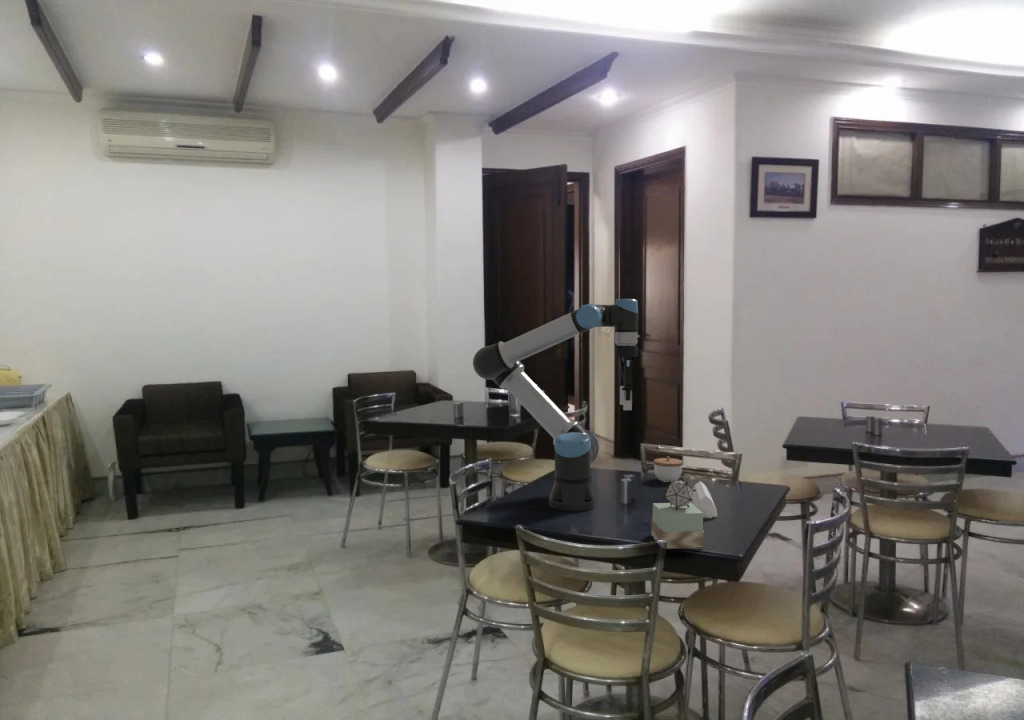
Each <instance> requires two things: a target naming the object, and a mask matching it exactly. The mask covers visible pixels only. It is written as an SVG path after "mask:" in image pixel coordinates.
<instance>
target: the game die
mask: <svg viewBox="0 0 1024 720" xmlns="http://www.w3.org/2000/svg"><path fill="white" fill-rule="evenodd" d="M679 479H680V480H676V481H675V482H671V481H670V480H669V482H670V483H668V486H665V489H666V492H665V495H663V496H662V497H661V498H662V499H666V500H667V501H669V503H671V505H672V504H673V505H674V506H675V507H676V511H677V510H678V507H682V506H686V505H687V506H688V507H689V505H688V504H689V503H690V501H692V499H691V497H692V494H693V491H694V492H695V491H696V490H692V489H693V488H691V487H690V485H688V484H689V482H688V481H686V482H684V481H683V477H679Z"/></svg>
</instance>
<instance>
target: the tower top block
mask: <svg viewBox="0 0 1024 720" xmlns="http://www.w3.org/2000/svg"><path fill="white" fill-rule="evenodd" d="M688 505H689V507H688V506H687V505H686V506H682V507H678V510H677V511H676V507H675V506H674V505H673V504H672V505H671V502H657V503H656V502H653V503H652V519H653V521H654V522H655V523H656V525H657V526H658V527H659V528H660V529H661V530H662V531H663V532H679V531H704V530H703V529H704V528H703V527H704V518H703V513H702V512H701V511H700V510H699V509H698V508H696V507H695V506H694V505H693V504H691V503H690V502H689V504H688Z"/></svg>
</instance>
